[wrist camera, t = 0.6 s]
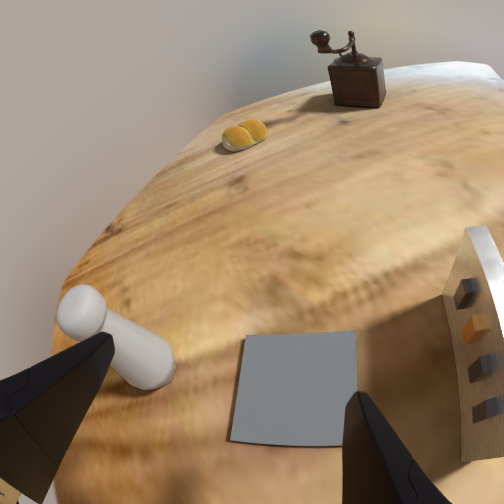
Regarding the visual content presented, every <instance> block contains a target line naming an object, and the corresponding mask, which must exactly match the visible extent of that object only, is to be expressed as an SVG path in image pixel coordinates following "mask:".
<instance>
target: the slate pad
mask: <svg viewBox="0 0 504 504" xmlns="http://www.w3.org/2000/svg"><path fill="white" fill-rule="evenodd" d="M356 391H357V348H356V330H353V331H341V332H326V333H308V334H284V335H246V338H245V345H244V352H243V358H242V365H241V372H240V378H239V385H238V392H237V398H236V405H235V412H234V418H233V425H232V431H231V438H230V440H232V441H239V442H247V443H258V444H270V445H288V446H342V441H343V429H344V417H345V407H346V404H347V402H348V401H349V399H350V398H351V397H352V395H353V394H354V392H356Z"/></svg>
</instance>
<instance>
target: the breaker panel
mask: <svg viewBox="0 0 504 504" xmlns="http://www.w3.org/2000/svg"><path fill="white" fill-rule="evenodd" d="M442 297H443V301H444V305H445V310H446V314H447V319H448V323H449V328H450V334H451V339H452V345H453V350H454V357H455V364H456V371H457V379H458V389H459V400H460V414H461V462H465V461H476V460H485V459H492V458H499V457H504V263H503V261H502V258H501V256H500V254H499V251H498V249H497V247H496V245H495V243H494V240H493V238H492V236H491V234H490V232H489V230H488V228H487V226H486V225H485V226H475V227H466V228H465V231H464V234H463V238H462V241H461V244H460V247H459V250H458V253H457V256H456V259H455V261H454V264H453V267H452V270H451V272H450V275H449V278H448V280H447V283H446V285H445V288H444V290H443V292H442Z"/></svg>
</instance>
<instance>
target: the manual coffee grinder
mask: <svg viewBox="0 0 504 504" xmlns="http://www.w3.org/2000/svg"><path fill="white" fill-rule="evenodd" d="M348 35H349V43H348V45H347V46H346V47H344V48H341V49H337V50H332V49H331V47H330V46H329V45H328V43H329V40H330V35H329V34H328V33H327V32H325V31H321V30H318V31H315V32H313V33H312V34H311V35H310V39H311V41H312V43H313V44H314V45H316V46H317V47H318V53H335V54H337V53H339V55H340V56H341V57H340V58H337V59H335V60H334V62H333V63H332V64H330V65H329V66H328V71H329V76H330V81H331V86H332V91H333V96H334V104H335V105H340V106H349V107H362V108H379V107H380V106H381V105H382V103H383V101H384V98H385V95H386V89H385V80H384V71H383V64H382V58H372V57H368V56H366V55H364V54H361V53H358V52H357V51H356V47H355V37H354V32H353V31H349V32H348ZM350 47H352V52H350V53H347V54H345V55H342V54H341V53H342V52H345V51H347V50H348V49H349V48H350Z"/></svg>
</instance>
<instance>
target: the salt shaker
mask: <svg viewBox="0 0 504 504" xmlns="http://www.w3.org/2000/svg"><path fill="white" fill-rule="evenodd" d="M57 324H58V326H59V328H60V329H61V331H62V332H63V333H64V334H65V335H67V336H68V337H70V338H72V339H74V340H76V341H80V342H81V341H83V340H85V339H87V338H89V337H91V336H93V335H95V334H97V333H99V332H102V331H104V332H107V333H109V334H112V336H113V340H114V346H115V354H114V357H113V359H112V361H111V364H110V366H111V367H112V368H113V369H114V370H115V371H117V372H118V373H119V374H120V375H121V376H122V377H123V378H124V379H125V380H126V381H127V382H128V383H129V384H130V385H132V386H134V387H137V388H139V389H142V390H150V389H157V388H159V387H162V386H164V385H166V384H168V383H171V381H172V379H173V376H174V373H175V370H176V367H177V365H176V362H175V359H174V356H173V353H172V350H171V346H170V345H169V344H168V343H167V342H166V341H165V340H164V339H163V338H162V337H161V336H159V335H157V334H155V333H153V332H151V331H149V330H147V329H145V328H143V327H141V326H139V325H137V324H135V323H133V322H132V321H130V320H128V319H126V318H124V317H122V316H120V315H119V314H117V313H115V312H113V311H111V310H109V309H108V308H107V304H106V301H105V300H104V298H103V297H102V296H101V294H100V293H99V292H98V291H97V290H96V289H95V288H93V287H92V286H90V285H84V284H83V285H79V286H76V287H74V288H72V289H71V290H70V291H68V292H67V293H66V294H65V296H64V297H63V299H62V300H61V301H60V304H59V307H58V309H57Z"/></svg>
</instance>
